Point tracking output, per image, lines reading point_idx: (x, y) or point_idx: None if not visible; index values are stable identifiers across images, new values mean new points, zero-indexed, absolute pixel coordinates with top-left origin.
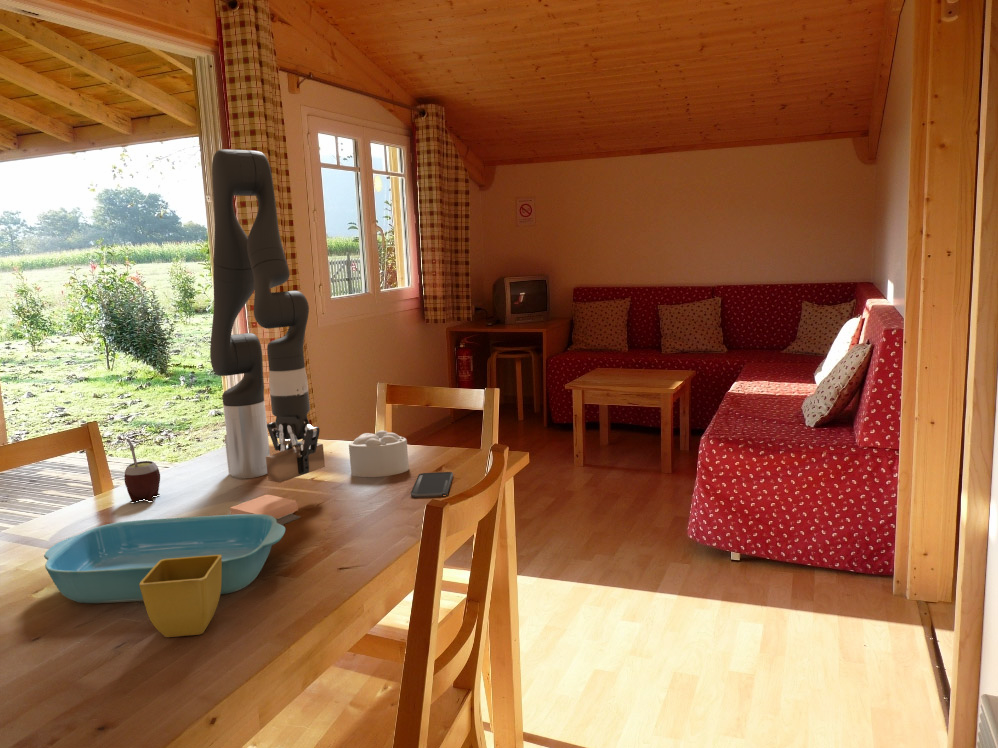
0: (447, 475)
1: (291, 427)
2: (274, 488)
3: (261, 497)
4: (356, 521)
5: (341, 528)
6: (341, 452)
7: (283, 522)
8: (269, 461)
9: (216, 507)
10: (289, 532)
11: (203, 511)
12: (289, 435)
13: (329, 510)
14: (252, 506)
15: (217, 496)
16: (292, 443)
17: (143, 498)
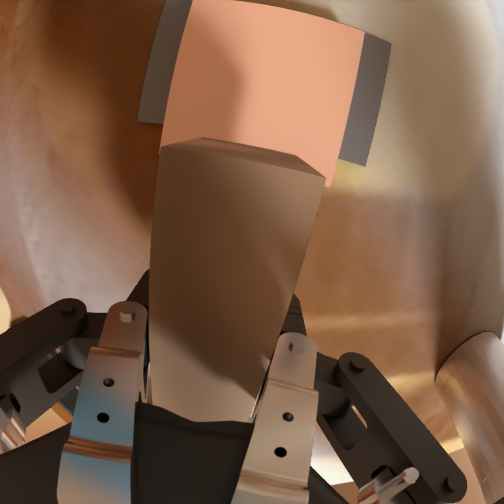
0: (68, 407)
1: (60, 495)
2: (389, 314)
3: (327, 147)
4: (12, 166)
5: (14, 117)
6: (342, 464)
7: (151, 59)
8: (276, 161)
9: (461, 144)
10: (101, 30)
11: (471, 110)
12: (184, 449)
13: (103, 204)
14: (288, 51)
15: (492, 225)
16: (133, 369)
17: None
